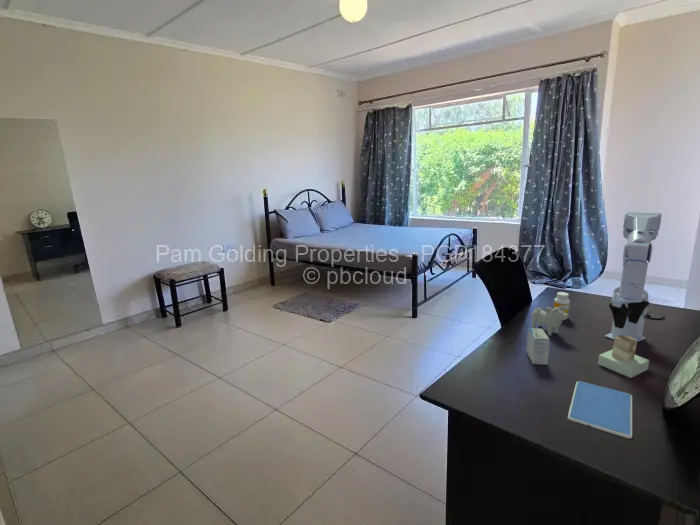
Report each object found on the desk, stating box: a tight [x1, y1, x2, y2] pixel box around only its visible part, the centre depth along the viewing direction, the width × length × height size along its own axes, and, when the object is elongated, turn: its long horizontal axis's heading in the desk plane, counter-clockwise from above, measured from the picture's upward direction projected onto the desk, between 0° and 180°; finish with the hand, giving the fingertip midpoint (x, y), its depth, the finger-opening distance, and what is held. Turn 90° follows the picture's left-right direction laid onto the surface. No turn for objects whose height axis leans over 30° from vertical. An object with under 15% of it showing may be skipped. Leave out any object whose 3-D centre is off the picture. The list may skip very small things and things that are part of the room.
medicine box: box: [525, 327, 551, 366], centre depth 117 cm, size 8×4×9 cm, turn 168°
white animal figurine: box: [531, 306, 569, 336], centre depth 135 cm, size 5×13×11 cm, turn 28°
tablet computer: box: [567, 380, 633, 439], centre depth 94 cm, size 19×13×1 cm, turn 144°
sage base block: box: [597, 348, 650, 379], centre depth 111 cm, size 9×9×3 cm
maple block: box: [612, 335, 638, 362], centre depth 110 cm, size 4×4×6 cm
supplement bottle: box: [552, 291, 571, 315], centre depth 148 cm, size 5×5×10 cm
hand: (625, 325), depth 115 cm, fingers open, 7 cm apart
